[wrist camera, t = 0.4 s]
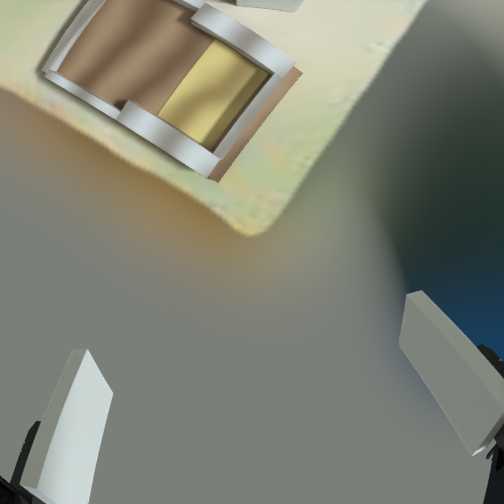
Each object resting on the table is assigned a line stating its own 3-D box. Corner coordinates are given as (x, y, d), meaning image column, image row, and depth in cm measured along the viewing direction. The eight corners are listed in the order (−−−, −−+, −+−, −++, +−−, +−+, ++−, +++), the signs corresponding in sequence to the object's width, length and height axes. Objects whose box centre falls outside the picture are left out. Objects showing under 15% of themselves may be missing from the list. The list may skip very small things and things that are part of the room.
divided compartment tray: (51, 76, 28) (39, 74, 25) (127, -26, 24) (120, -36, 21) (218, 181, 36) (218, 186, 33) (300, 74, 32) (307, 70, 29)
